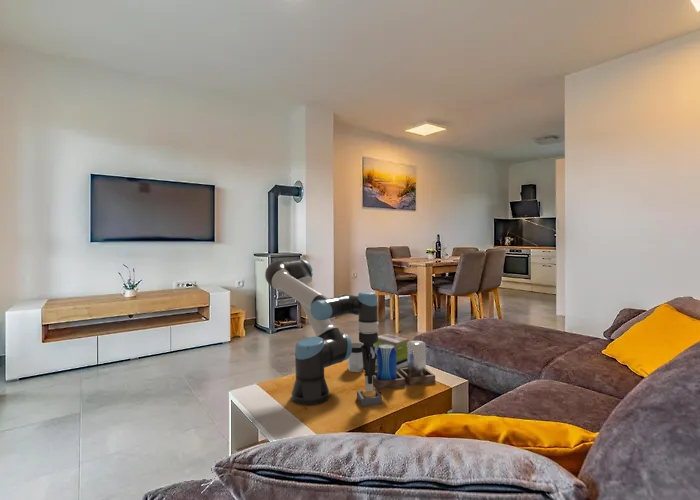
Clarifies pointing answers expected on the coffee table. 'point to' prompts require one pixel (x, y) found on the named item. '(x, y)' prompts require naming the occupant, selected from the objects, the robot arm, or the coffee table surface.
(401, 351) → the tea box
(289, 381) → the coffee table surface
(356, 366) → the jar
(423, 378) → the tray
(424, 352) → the billet
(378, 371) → the beer can
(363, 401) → the button housing
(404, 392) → the coffee table surface
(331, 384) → the coffee table surface
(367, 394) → the button
